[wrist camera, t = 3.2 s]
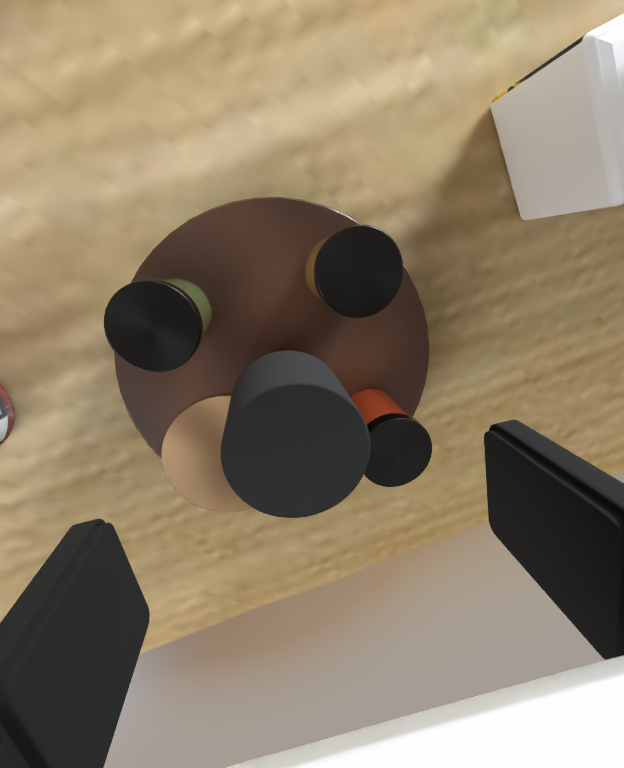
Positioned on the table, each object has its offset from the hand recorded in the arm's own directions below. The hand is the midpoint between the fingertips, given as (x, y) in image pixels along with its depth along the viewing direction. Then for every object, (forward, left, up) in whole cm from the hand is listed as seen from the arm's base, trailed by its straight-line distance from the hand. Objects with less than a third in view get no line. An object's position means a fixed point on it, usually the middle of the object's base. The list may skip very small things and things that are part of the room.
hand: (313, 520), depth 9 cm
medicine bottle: (-20, +8, -17) cm, 27 cm away
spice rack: (0, 0, -15) cm, 15 cm away
